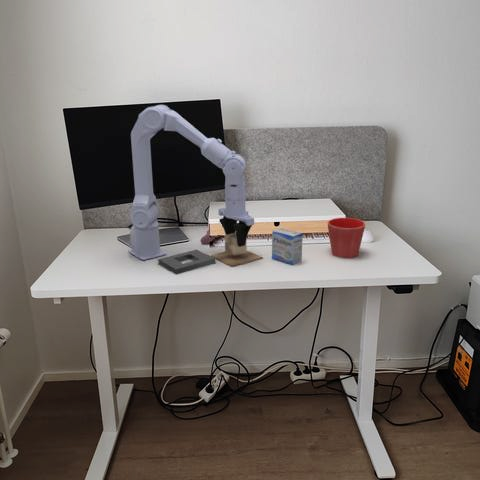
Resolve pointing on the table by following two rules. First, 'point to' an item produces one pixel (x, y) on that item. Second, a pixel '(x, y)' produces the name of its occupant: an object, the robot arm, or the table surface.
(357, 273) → the table surface
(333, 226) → the flower pot
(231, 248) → the square plug
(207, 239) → the video game controller
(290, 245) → the medicine box
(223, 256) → the mat
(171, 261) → the holder
